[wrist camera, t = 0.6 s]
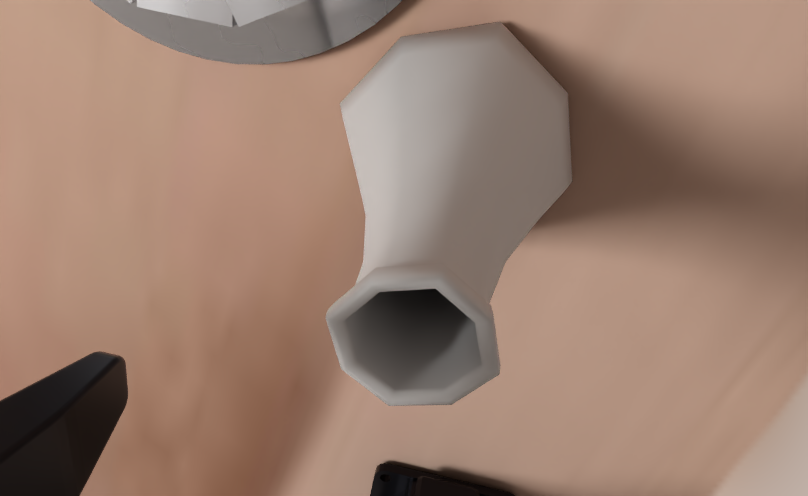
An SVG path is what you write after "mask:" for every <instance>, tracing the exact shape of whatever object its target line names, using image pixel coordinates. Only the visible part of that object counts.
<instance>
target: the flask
mask: <svg viewBox="0 0 808 496" xmlns="http://www.w3.org/2000/svg"><path fill="white" fill-rule="evenodd" d="M340 107H341V112H342V116H343V121H344V125H345V129H346V133H347V137H348V142H349V146H350V150H351V154H352V158H353V162H354V167H355V171H356V175H357V179H358V183H359V187H360V192H361V196H362V200H363V205H364V210H365V214H366V222H365V240H364V258H363V264H362V267H361V270H360V273H359V276H358V279H357V282H356V284H355V286H354V287H352V288H351V289H350V290H349V291H348V292H347V293H345V294H344V295H343V296H342V297H341V298H339V299H338V300H337V301H336V302H335V303H334V304H333V305H332V306H331V307H330V308H329V309H328V311H327V314H326V321H327V324H328V327H329V331H330V334H331V337H332V340H333V344H334V347H335V350H336V354H337V357H338V360H339V363H340V367H341V369H342V370H343V371H345V372H346V373H347V374H348V375H350V376H351V377H352V378H354V379H355V380H356V381H357V382H359V383H360V384H361V385H363V386H364V387H365V388H366V389H368V390H369V391H370V392H372V393H373V394H374V395H376V396H377V397H378V398H379V399H381V400H382V401H383V402H385V403H386V404H387V405H388V406H405V405H452V404H453V403H455V402H456V401H458V400H460V399H461V398H463V397H464V396H466V395H467V394H469V393H471V392H472V391H474V390H475V389H477V388H478V387H480V386H482V385H483V384H485V383H486V382H488V381H490V380H491V379H493V378H494V377H496V376H497V375H499V373H500V360H499V352H498V345H497V338H496V330H495V323H494V316H493V311H492V308H491V305H490V304H489V303H490V300H491V297H492V295H493V292H494V290H495V287H496V285H497V282H498V280H499V277H500V275H501V272H502V269H503V267H504V264H505V262H506V261H507V259H508V258H509V257H510V256H511V254H512V253H513V252H514V250H515V249H516V248H517V247H518V245H519V244H520V243H521V242H522V240H523V239H524V238H525V236H526V235H527V234H528V233H529V231H530V230H531V229H532V227H533V226H534V225H535V224H536V222H537V221H538V220H539V219H540V218H541V217H542V215H543V214H544V213H545V212H546V211H547V210H548V209H549V208H550V207H551V206H552V204H553V203H554V202H555V201H556V200H557V199H558V198H559V197H560V196H561V195H562V194H563V192H564V191H565V190H566V189H567V188H568V186H569V185H570V184H571V182H572V165H571V145H570V125H569V106H568V93H567V92H566V91H565V90H564V88H563V87H562V86H561V85H560V84H559V83H558V82H557V81H556V80H555V79H554V78H553V77H552V76H551V75H550V74H549V73H548V71H547V70H546V69H545V68H544V67H543V66H542V65H541V64H540V63H539V62H538V61H537V60H536V59H535V58H534V57H533V56H532V54H531V53H530V52H529V51H528V50H527V49H526V48H525V47H524V46H523V45H522V44H521V43H520V42H519V41H518V40H517V39H516V37H515V36H514V35H513V34H512V33H511V32H510V31H509V30H508V29H507V28H506V27H505V26H504V25H503V24H502V23H501V22H495V23H488V24H481V25H475V26H468V27H462V28H455V29H449V30H442V31H435V32H429V33H422V34H416V35H409V36H403V37H400V39H399V40H398V41H397V42H396V43H395V44H394V45H393V46H392V47H391V48H390V49H389V51H388V52H387V53H386V54H385V55H384V56H383V57H382V58H381V59H380V60H379V61H378V62H377V64H376V65H375V66H374V67H373V68H372V69H371V70H370V71H369V72H368V73H367V74H366V76H365V77H364V78H363V79H362V80H361V81H360V82H359V83H358V84H357V85H356V86H355V87H354V89H353V90H352V91H351V92H350V93H349V94H348V95H347V96H346V97H345V98H344V99H343V101H342V102H341V103H340Z"/></svg>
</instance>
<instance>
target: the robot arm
mask: <svg viewBox="0 0 808 496" xmlns="http://www.w3.org/2000/svg"><path fill="white" fill-rule="evenodd" d="M127 399H128V386H127V374H126V364H125V360H124V359H123V358H122V357H121V356H118V355H114V354H110V353H105V352H94V353H92V354H90V355H88V356H86V357H84V358H82V359H80V360H78V361H76V362H74V363H72V364H70V365H68V366H66V367H65V368H63V369H61V370H59V371H57V372H55V373H53V374H51V375H49V376H47V377H45V378H43V379H41V380H39V381H37V382H36V383H34V384H32V385H30V386H28V387H26V388H24V389H22V390H20V391H18V392H16V393H14V394H12V395H10V396H8V397H7V398H5V399H3V400H1V401H0V496H79V495H80V494H81V492H82V490H83V488H84V486H85V484H86V483H87V481H88V479H89V477H90V475H91V473H92V471H93V469H94V467H95V465H96V463H97V461H98V459H99V457H100V455H101V453H102V451H103V450H104V448H105V446H106V444H107V442H108V440H109V438H110V436H111V434H112V432H113V430H114V428H115V426H116V424H117V422H118V420H119V418H120V416H121V414H122V412H123V411H124V408H125V406H126V403H127ZM370 496H515V495H513V494H511V493H508V492H504V491H500V490H496V489H492V488H488V487H483V486H479V485H475V484H471V483H467V482H463V481H458V480H454V479H450V478H446V477H442V476H437V475H433V474H429V473H425V472H421V471H417V470H412V469H408V468H404V467H400V466H396V465H392V464H386V463H384V464H380V465H378V466H377V468H376V472H375V476H374V480H373V485H372V489H371V494H370Z"/></svg>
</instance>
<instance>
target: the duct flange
mask: <svg viewBox="0 0 808 496" xmlns="http://www.w3.org/2000/svg"><path fill="white" fill-rule="evenodd" d="M91 1H92V2H93V3H94V4H95V5H97V6H98V7H99V8H101V9H102V10H104V11H105V12H106V13H108V14H109V15H111V16H112V17H113V18H115V19H116V20H118V21H119V22H120V23H122V24H124V25H125V26H127V27H129V28H131V29H132V30H134V31H136V32H138V33H140V34H141V35H143V36H145V37H147V38H149V39H150V40H153V41H155V42H157V43H160V44H162V45H165V46H167V47H169V48H172V49H174V50H177V51H179V52H183V53H186V54H190V55H193V56H197V57H200V58H204V59H207V60H214V61H220V62H227V63H234V64H271V63H279V62H287V61H294V60H298V59H301V58H305V57H309V56H312V55H316V54H320V53H322V52H325V51H327V50H329V49H332V48H334V47H336V46H338V45H341V44H343V43H345V42H347V41H349V40H351V39H352V38H354V37H356V36H357V35H359V34H360V33H362V32H364V31H365V30H367V29H368V28H370V27H372V26H373V25H375V24H376V23H377V22H378V21H379V20H381V19H382V18H383V17H384V16H385V15H387V14H388V13H389V12H390V11H391V10H393V9H394V8H395V7H396V6H397V5H398V4H399V3H400V2H401V1H402V0H91Z"/></svg>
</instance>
